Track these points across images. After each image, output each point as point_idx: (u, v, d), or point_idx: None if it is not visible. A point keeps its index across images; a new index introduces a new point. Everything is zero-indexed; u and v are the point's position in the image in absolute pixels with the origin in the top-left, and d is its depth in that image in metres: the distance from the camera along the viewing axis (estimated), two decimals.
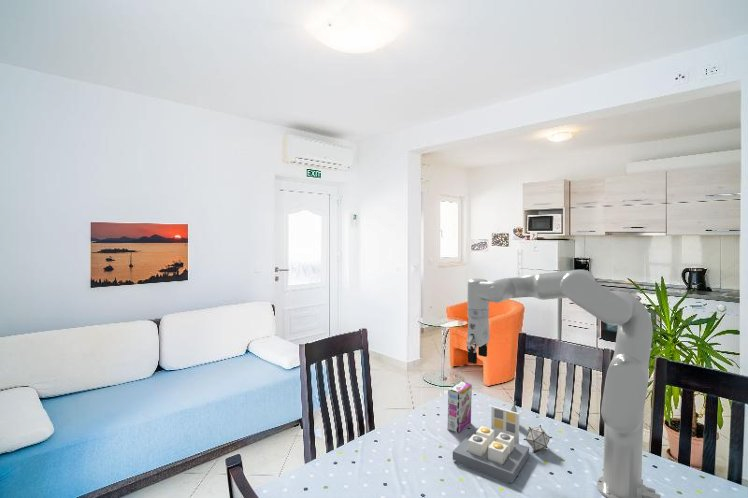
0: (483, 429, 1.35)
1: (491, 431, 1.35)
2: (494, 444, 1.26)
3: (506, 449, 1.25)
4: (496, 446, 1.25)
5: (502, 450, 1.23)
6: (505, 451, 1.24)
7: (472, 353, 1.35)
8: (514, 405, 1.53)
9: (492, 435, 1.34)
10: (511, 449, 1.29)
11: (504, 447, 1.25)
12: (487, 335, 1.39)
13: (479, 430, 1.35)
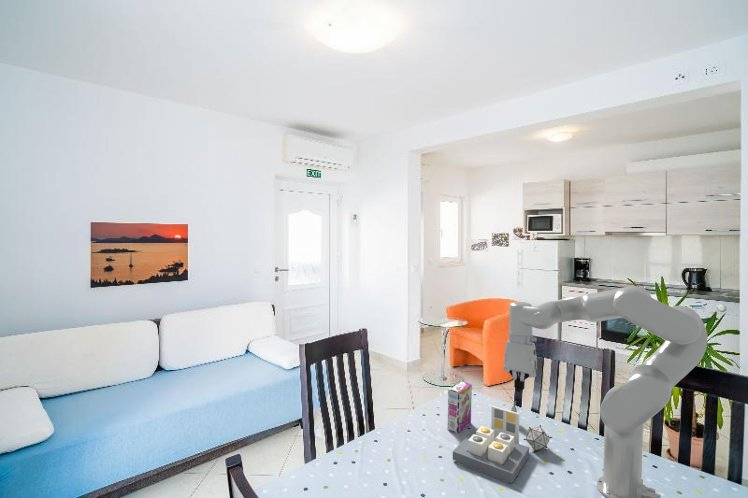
0: (483, 429, 1.35)
1: (491, 431, 1.35)
2: (494, 444, 1.26)
3: (506, 449, 1.25)
4: (496, 446, 1.25)
5: (502, 450, 1.23)
6: (505, 451, 1.24)
7: (524, 380, 1.31)
8: (514, 405, 1.53)
9: (492, 435, 1.34)
10: (511, 449, 1.29)
11: (504, 447, 1.25)
12: None
13: (479, 430, 1.35)
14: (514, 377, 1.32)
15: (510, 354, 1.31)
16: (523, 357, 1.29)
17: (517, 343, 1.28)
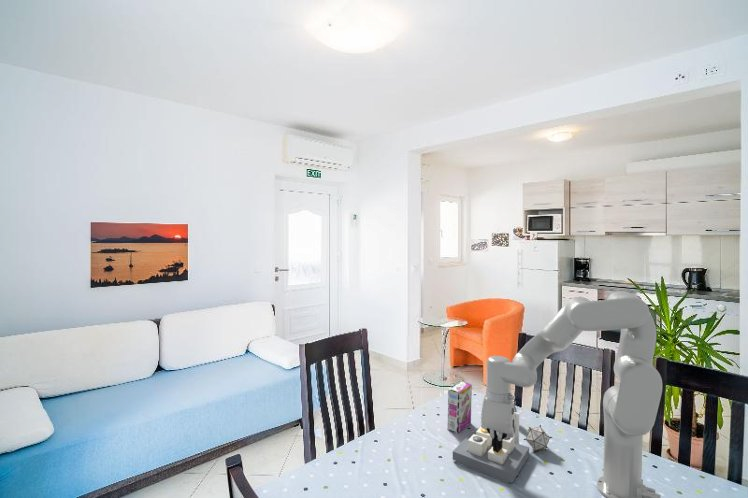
0: (483, 429, 1.35)
1: None
2: None
3: (506, 454, 1.25)
4: None
5: (502, 455, 1.23)
6: (505, 456, 1.24)
7: (502, 439, 1.25)
8: (514, 405, 1.53)
9: None
10: (511, 449, 1.29)
11: (504, 452, 1.25)
12: None
13: (479, 430, 1.35)
14: (492, 436, 1.25)
15: (487, 412, 1.25)
16: (501, 417, 1.22)
17: (494, 402, 1.22)
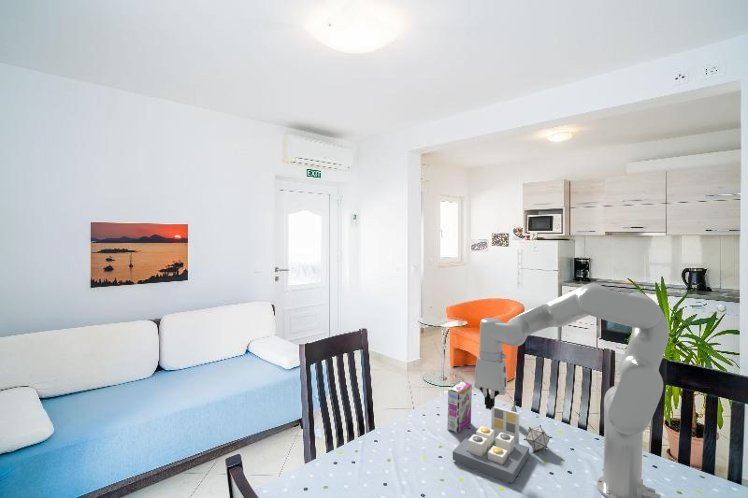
0: (483, 429, 1.35)
1: (491, 431, 1.35)
2: (494, 449, 1.26)
3: (506, 454, 1.25)
4: (496, 451, 1.25)
5: (502, 455, 1.23)
6: (505, 456, 1.24)
7: (494, 397, 1.30)
8: (514, 405, 1.53)
9: (492, 435, 1.34)
10: (511, 449, 1.29)
11: (504, 452, 1.25)
12: None
13: (479, 430, 1.35)
14: (484, 394, 1.30)
15: (480, 371, 1.30)
16: (493, 375, 1.27)
17: (487, 360, 1.27)
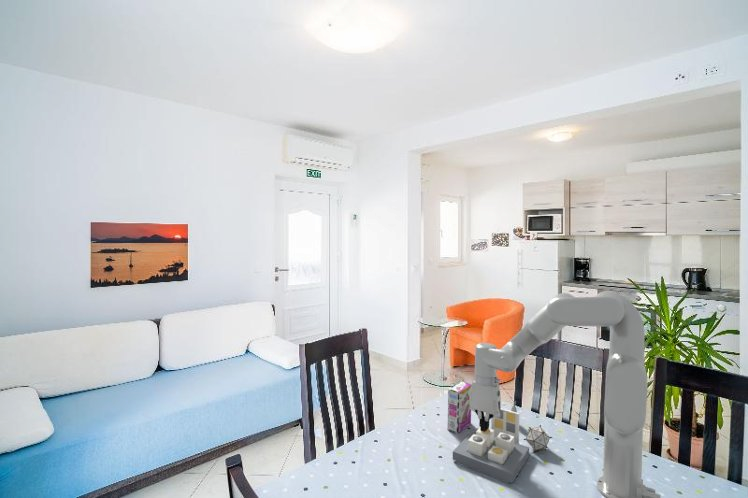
0: None
1: (491, 431, 1.35)
2: (494, 449, 1.26)
3: (506, 454, 1.25)
4: (496, 451, 1.25)
5: (502, 455, 1.23)
6: (505, 456, 1.24)
7: None
8: (514, 405, 1.53)
9: (492, 435, 1.34)
10: (511, 449, 1.29)
11: (504, 452, 1.25)
12: None
13: (479, 430, 1.35)
14: (479, 417, 1.35)
15: (475, 394, 1.34)
16: (488, 398, 1.32)
17: (482, 384, 1.31)
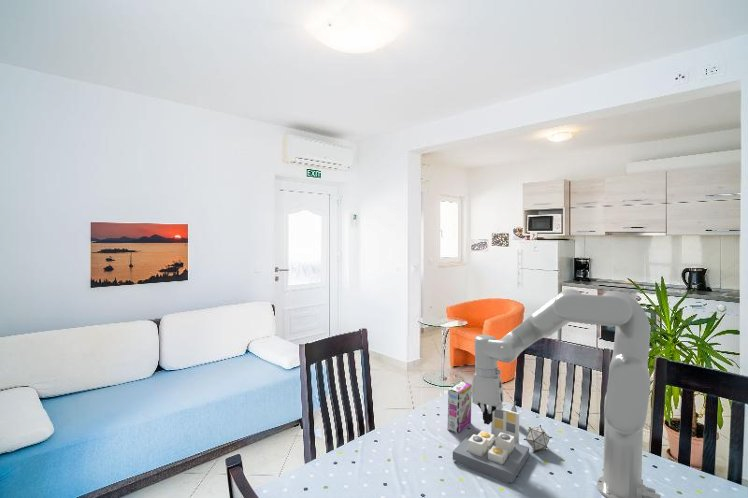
0: (483, 434, 1.36)
1: (491, 436, 1.35)
2: (494, 449, 1.26)
3: (506, 454, 1.25)
4: (496, 451, 1.25)
5: (502, 455, 1.23)
6: (505, 456, 1.24)
7: None
8: (514, 405, 1.53)
9: (492, 440, 1.34)
10: (511, 449, 1.29)
11: (504, 452, 1.25)
12: None
13: (479, 435, 1.35)
14: (482, 410, 1.34)
15: (477, 387, 1.34)
16: (489, 390, 1.31)
17: (483, 377, 1.31)
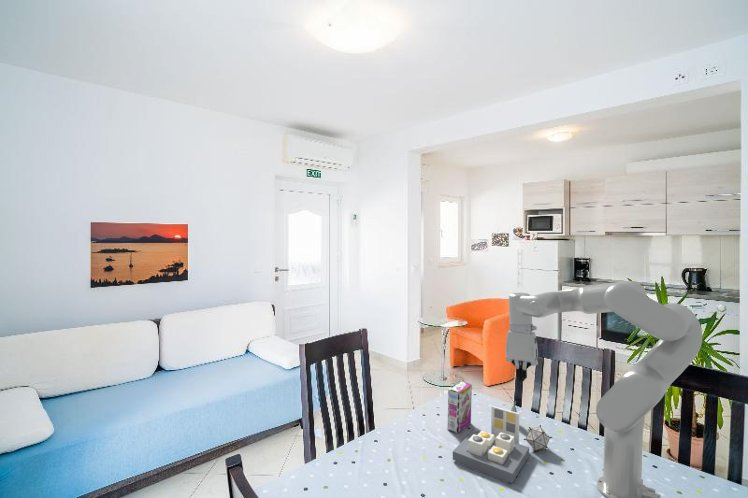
0: (483, 434, 1.36)
1: (491, 436, 1.35)
2: (494, 449, 1.26)
3: (506, 454, 1.25)
4: (496, 451, 1.25)
5: (502, 455, 1.23)
6: (505, 456, 1.24)
7: (526, 369, 1.35)
8: (514, 405, 1.53)
9: (492, 440, 1.34)
10: (511, 449, 1.29)
11: (504, 452, 1.25)
12: None
13: (479, 435, 1.35)
14: (516, 366, 1.35)
15: (512, 344, 1.34)
16: (525, 346, 1.32)
17: (518, 332, 1.32)
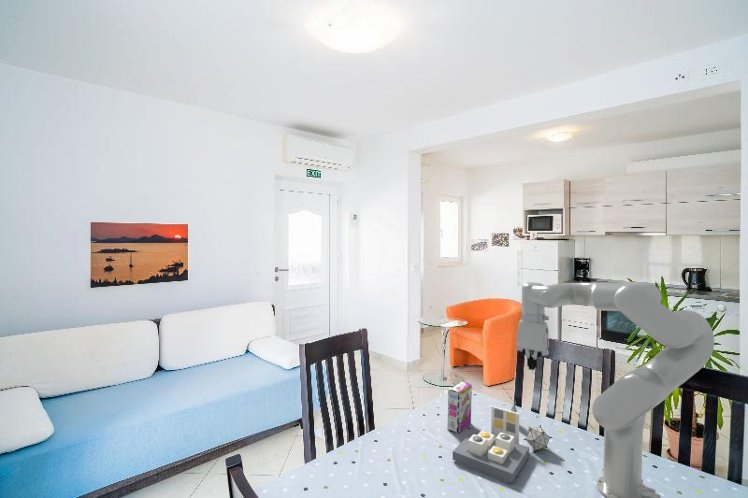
0: (483, 434, 1.36)
1: (491, 436, 1.35)
2: (494, 449, 1.26)
3: (506, 454, 1.25)
4: (496, 451, 1.25)
5: (502, 455, 1.23)
6: (505, 456, 1.24)
7: None
8: (514, 405, 1.53)
9: (492, 440, 1.34)
10: (511, 449, 1.29)
11: (504, 452, 1.25)
12: None
13: (479, 435, 1.35)
14: (527, 356, 1.35)
15: (523, 333, 1.35)
16: (536, 336, 1.32)
17: (530, 322, 1.32)
